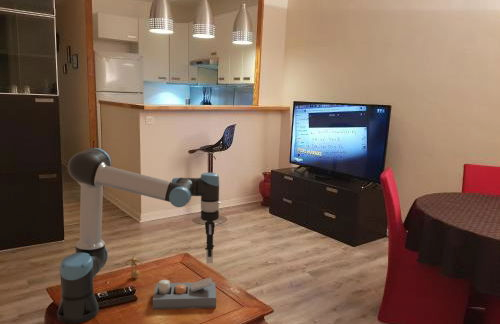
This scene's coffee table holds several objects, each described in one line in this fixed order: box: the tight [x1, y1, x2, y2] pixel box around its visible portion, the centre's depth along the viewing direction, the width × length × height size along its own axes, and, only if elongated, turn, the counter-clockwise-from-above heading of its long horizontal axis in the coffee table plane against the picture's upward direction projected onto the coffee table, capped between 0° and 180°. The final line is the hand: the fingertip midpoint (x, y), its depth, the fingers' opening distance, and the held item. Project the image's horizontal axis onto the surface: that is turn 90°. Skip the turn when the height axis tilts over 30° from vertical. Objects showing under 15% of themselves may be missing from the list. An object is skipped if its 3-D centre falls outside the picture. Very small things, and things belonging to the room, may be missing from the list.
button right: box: [175, 284, 186, 294], centre depth 171 cm, size 5×5×4 cm
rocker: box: [190, 276, 213, 292], centre depth 172 cm, size 9×6×2 cm, turn 97°
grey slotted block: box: [152, 281, 217, 311], centre depth 172 cm, size 26×14×6 cm, turn 97°
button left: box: [158, 279, 171, 295], centre depth 170 cm, size 5×5×4 cm
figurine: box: [125, 255, 144, 279], centre depth 188 cm, size 8×6×12 cm
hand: (209, 262), depth 170 cm, fingers closed
